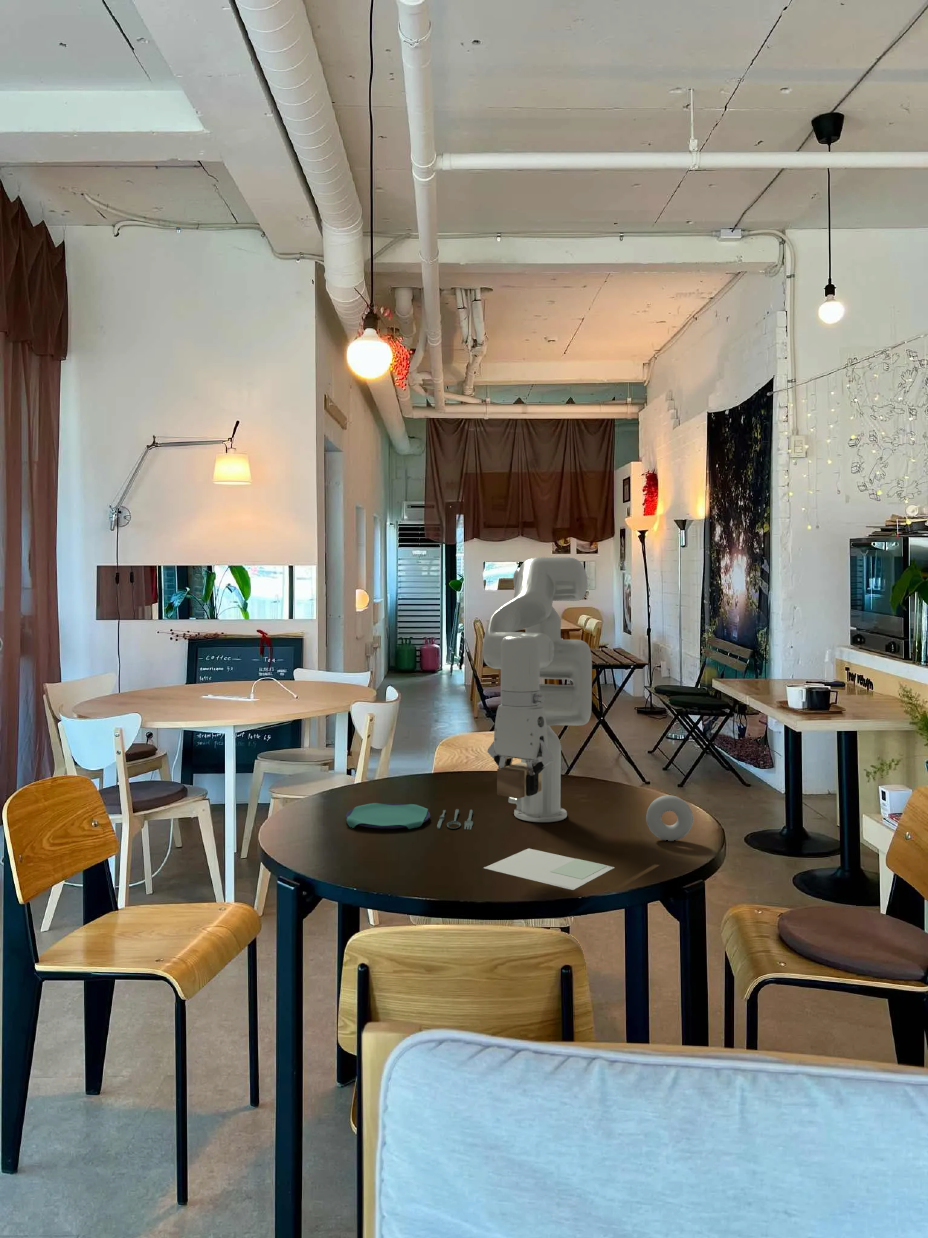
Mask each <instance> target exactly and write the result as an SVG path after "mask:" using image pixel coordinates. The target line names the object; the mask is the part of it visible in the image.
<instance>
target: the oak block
mask: <svg viewBox="0 0 928 1238" xmlns="http://www.w3.org/2000/svg"><path fill="white" fill-rule="evenodd" d="M496 773H497V774H496V778H497V779H496V795H497V796H502V797H508V798H510V797H512V798H518V799H519V798H522V797H525V796H527V795H526V775H529V773H528V769H527V764H526V763H522V762H521V761H519V762H516V763H512V765H509V766H506V767H502V768H499V769H498V768H497V769H496ZM541 789H542V771H541V773H539V778H538V792H539V791H541Z"/></svg>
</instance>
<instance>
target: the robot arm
mask: <svg viewBox="0 0 928 1238" xmlns="http://www.w3.org/2000/svg"><path fill="white" fill-rule="evenodd" d="M512 579H513V587H514V588H513V589H514V594H513V599H512V600H509V601H507V602H506V603H505V604H503V605H502V606H501V607H499V608H498V609H497V610H496V611H495V612H493V613H492V615H491V616H490V617H489V620H488V622H487V624H486V627H485V632H484V637H483V642H482V651H481V653H482V658H483V662H484V663H485V665H486V666H487V667H489V668H491V669H494V670H495V669H496V670H500V704H499V705H498V706H497V710H496V716H495V723H494V729H493V730H494V732H493V733H494V735H493V737H494V738H493V742H492V743H491V744H490V745H489V747H488V748H487V753H488V755H490V757H491V758H492V759H493V761H494V762H495V764H496V765H497V766H498V767H497V769H499V768H502V767H506V766H509V765H513V761H514V759H519V760H520V762H522V763H526V764H527V769H528V773H529V775H526V795H527V796H525V797H522V798H519V799H518V798H512V797H508V801H507V802H508V803H509V804H515V805H516V808H515V809H514V811H513V814H514V816H515V818H516V819H519V820H522V821H526V822H533V823H553V822H560V821H563V820H564V819H566V818H567V816H568V812H567V810H566V809H565V808H562V807H561V788H562V787H561V783H562V781H561V779H562V777H561V776H562V775H561V774H562V772H561V771H562V770H561V769H562V767H561V765H562V764H561V762H562V759H561V758H562V756H561V755H562V746H561V740H560V739H559V737H558V735H557V734H556V732H555V731H554V730H553V729H552V727H551V726H577V727H578V726H584V725H586V724H588V723H589V721H590V719H591V717H592V702H593V701H592V700H593V699H592V697H593V696H592V695H593V693H592V690H593V689H592V687H593V686H592V685H593V682H592V681H593V677H592V675H593V673H592V672H593V663H592V662H593V660H592V651H591V648H590V645H589V644H588V643H587V642H586V641H584V640H581V639H563V638H562V636H561V634H562V633H561V630H562V629H561V627H562V625H561V624H562V621H561V616H560V615H559V613H558V612H557V610H556V609H555V608H554V607H553V601H554V602H561V601H562V602H577V601H579V602H580V601H581V600H583V599H584V597H585V595H586V594H587V590H588V576H587V571H586V569H585V567H584V565H583V564H582V561H580V560H579V559H577V558H574V557H567V556H565V557H561V556H558V557H557V556H556V557H554V556H553V557H545V556H542V557H532V558H531V557H530V558H529V559H526V560H525V561H523V563H522V564H520V567H518V568H517V569H516V570H515V571H514V572H513V578H512ZM521 630H522V631H521ZM523 630H524V631H525V632H524V631H523ZM540 679H545V680H569V681H571V682H572V684H569V685H568V684H553V683H552V684H546V683H540ZM541 771H542V789H541V791H539V792H538V778H539V773H541Z"/></svg>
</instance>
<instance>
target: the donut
mask: <svg viewBox="0 0 928 1238" xmlns="http://www.w3.org/2000/svg"><path fill="white" fill-rule="evenodd" d="M666 812H672V813H674V814H675V815H676V819H677V820H676V822H675V823H674V824H670V825H668V824H666V823H664V821H663V820H662V817H663V815H664V813H666ZM693 815H694V814H693V811H692V809H691V807H690V805H689V804H688V802H686V801H685V800H684V799H682V798H680V797H679V796H675V795H671V794H670V795H669V794H667V795H661V796H659V797H657V798H655V799H654V800H653V801H652V802H651V803H650V805H649V806H648V808H647V810H646V816H645V821H646V825H647V827H648V829H649V831H650V832H651V833H652V834H653V835H654V836H655V837H657V838H658V839H660V840H662V841H666V840H668V841H667V842H674V840H676V841H678V840H681V839H683V838H684V837H686V835H688V834H689V833H690V830H691V829H692V827H693V824H694V816H693Z"/></svg>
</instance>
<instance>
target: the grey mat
mask: <svg viewBox="0 0 928 1238" xmlns="http://www.w3.org/2000/svg"><path fill="white" fill-rule="evenodd" d="M483 869H485V870H488V871H493V872H497V873H501V874H506V875H510V876H514V877H517V878H521V879H526V880H530V881H534V882H539V883H541V884H542V883H543V884H546V885H550V886H554V887H558V888H563V889H565V890H571V891H574V890H576V889H578V888H579V887H581V886H583V885H585V884H587V883H589V882H590V881H593V880H595V879H597V878H598V877H600V876H602V875H604V874H606V873H608V872H609V871H611V870H613V869H615V867H614V866H611V865H606V864H603V863H599V862H594V861H589V860H585V859H584V860H583V859H582V858H581V859H580V858H574V857H569V856H564V855H561V854H560V855H559V854H555V853H551V852H546V851H542V850H538V849H534V848H533V849H532V848H530V847H529V848H527V849H523V850H522V851H519V852H517V853H515V854H512V855H510V856H508V857H506V858H503V859H500V860H498V861H496V862H494V863H492V864H490V865H487V866H484V867H483Z"/></svg>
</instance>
